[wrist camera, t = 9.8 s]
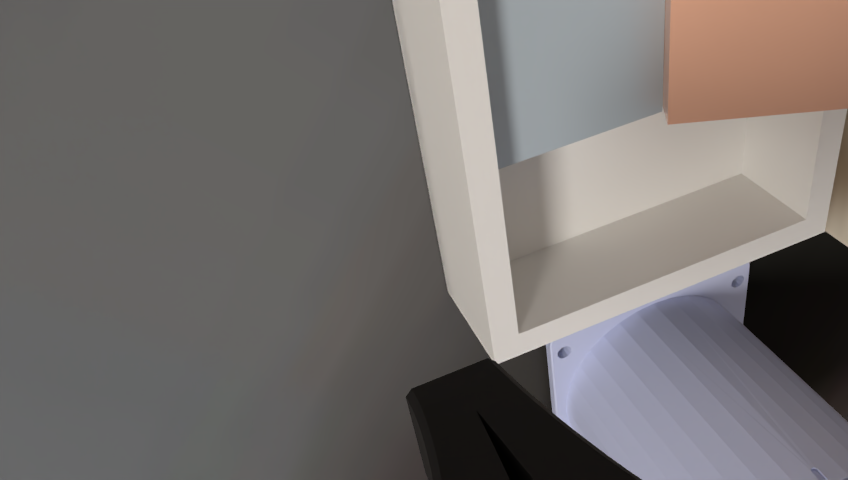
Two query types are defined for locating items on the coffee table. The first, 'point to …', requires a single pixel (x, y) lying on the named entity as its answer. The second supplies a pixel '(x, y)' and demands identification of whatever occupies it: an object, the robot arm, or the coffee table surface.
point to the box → (596, 196)
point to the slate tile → (569, 69)
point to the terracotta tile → (753, 58)
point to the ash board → (840, 194)
